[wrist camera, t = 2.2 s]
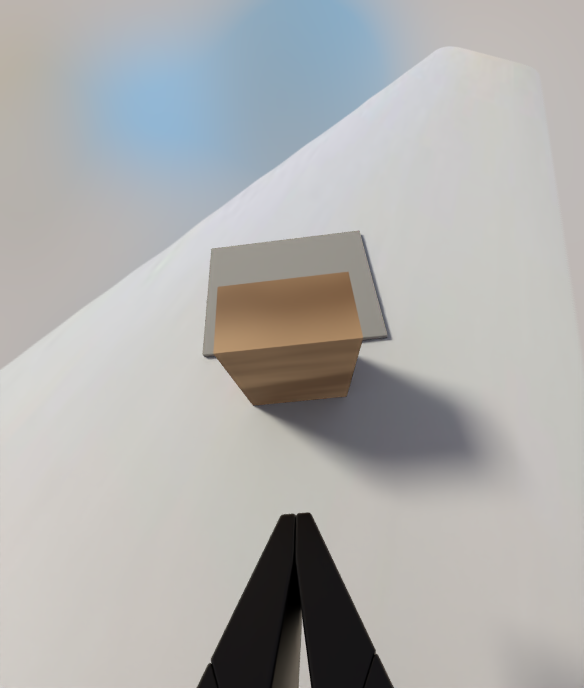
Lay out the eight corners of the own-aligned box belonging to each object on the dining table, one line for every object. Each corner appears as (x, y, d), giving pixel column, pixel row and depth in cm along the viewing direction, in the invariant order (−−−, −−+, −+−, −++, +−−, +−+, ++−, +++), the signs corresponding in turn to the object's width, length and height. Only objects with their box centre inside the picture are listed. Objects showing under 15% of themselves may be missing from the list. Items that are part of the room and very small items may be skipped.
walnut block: (346, 396, 21) (363, 337, 13) (253, 405, 21) (213, 353, 13) (338, 348, 23) (348, 271, 15) (252, 357, 23) (217, 286, 15)
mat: (386, 337, 23) (387, 334, 22) (204, 356, 23) (202, 354, 23) (358, 233, 28) (359, 230, 28) (212, 251, 29) (211, 248, 29)
